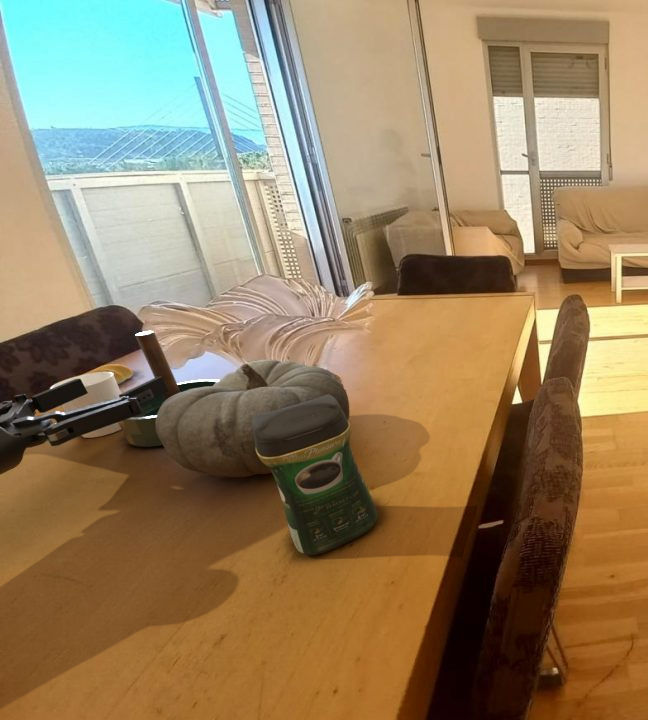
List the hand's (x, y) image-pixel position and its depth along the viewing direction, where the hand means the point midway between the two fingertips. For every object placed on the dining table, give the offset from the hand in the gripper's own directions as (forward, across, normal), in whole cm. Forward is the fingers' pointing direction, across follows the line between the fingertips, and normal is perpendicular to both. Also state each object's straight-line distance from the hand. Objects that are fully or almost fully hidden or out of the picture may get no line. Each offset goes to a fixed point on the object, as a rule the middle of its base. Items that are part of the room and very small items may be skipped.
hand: (122, 384), depth 78 cm
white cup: (+6, -15, -12) cm, 20 cm away
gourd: (-3, +24, -12) cm, 27 cm away
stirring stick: (+7, 0, -11) cm, 13 cm away
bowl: (+7, 0, -12) cm, 14 cm away
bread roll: (+27, -36, -12) cm, 46 cm away
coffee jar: (-22, +45, -12) cm, 51 cm away
